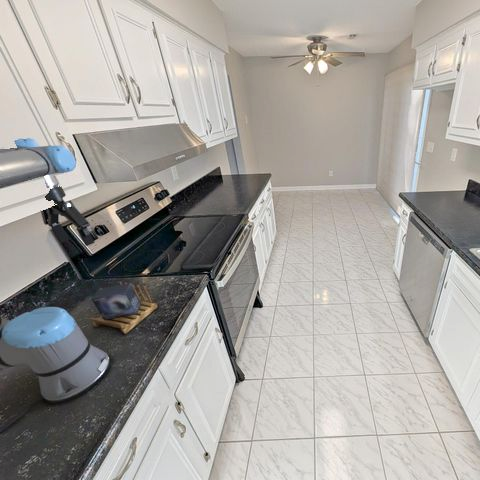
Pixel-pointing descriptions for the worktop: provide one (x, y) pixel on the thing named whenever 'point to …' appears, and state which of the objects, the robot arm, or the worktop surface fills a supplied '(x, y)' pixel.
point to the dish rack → (136, 318)
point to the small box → (116, 301)
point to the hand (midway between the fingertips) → (77, 242)
